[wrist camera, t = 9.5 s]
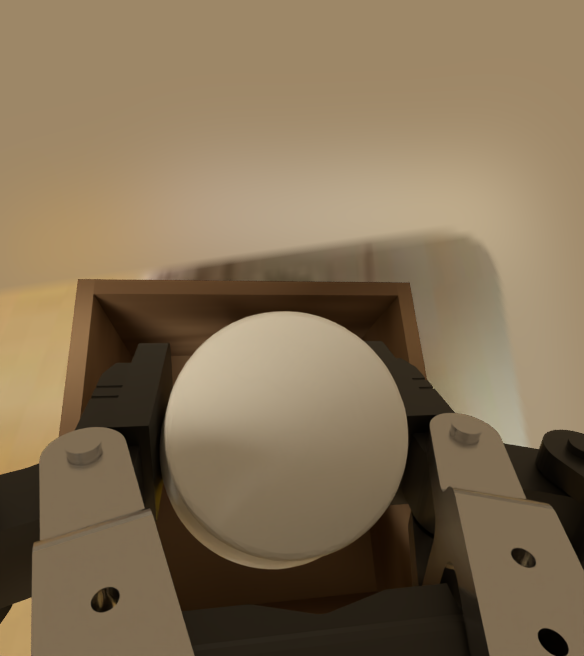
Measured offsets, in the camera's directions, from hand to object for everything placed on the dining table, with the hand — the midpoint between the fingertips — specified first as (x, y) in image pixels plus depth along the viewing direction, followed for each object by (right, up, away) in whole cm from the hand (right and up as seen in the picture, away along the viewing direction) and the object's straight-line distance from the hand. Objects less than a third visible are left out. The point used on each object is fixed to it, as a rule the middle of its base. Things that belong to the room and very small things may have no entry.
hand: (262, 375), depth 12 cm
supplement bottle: (-1, -3, +3) cm, 5 cm away
